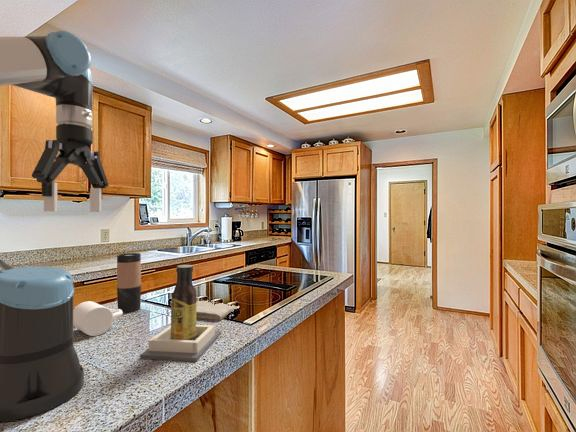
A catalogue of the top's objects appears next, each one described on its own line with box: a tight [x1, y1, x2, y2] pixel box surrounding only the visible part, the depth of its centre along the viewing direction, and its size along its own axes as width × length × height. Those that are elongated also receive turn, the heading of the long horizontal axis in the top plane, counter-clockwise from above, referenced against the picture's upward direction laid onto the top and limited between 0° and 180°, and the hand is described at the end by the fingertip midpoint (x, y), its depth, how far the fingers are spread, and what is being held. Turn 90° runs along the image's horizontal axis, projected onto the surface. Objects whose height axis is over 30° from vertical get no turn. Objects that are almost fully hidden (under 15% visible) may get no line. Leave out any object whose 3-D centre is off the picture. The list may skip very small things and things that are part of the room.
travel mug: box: [116, 252, 142, 314], centre depth 108 cm, size 8×8×20 cm
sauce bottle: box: [170, 264, 198, 340], centre depth 78 cm, size 6×6×20 cm
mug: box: [73, 300, 124, 337], centre depth 90 cm, size 12×10×8 cm
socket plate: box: [139, 324, 222, 362], centre depth 78 cm, size 16×14×3 cm
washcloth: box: [196, 300, 237, 322], centre depth 104 cm, size 12×18×3 cm, turn 72°
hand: (75, 212), depth 75 cm, fingers open, 13 cm apart
